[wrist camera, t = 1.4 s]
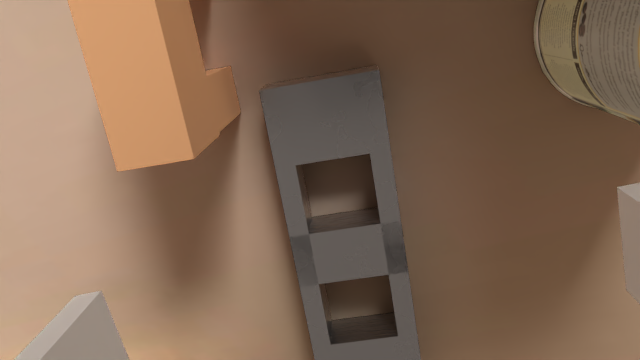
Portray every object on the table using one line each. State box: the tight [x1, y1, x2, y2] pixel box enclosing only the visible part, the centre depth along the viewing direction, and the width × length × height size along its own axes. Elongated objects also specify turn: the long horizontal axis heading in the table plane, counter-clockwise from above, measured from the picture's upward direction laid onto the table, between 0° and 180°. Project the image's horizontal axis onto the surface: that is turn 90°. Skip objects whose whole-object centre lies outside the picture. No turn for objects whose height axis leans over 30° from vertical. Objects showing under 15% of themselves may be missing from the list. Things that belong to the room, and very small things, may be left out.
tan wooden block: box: [68, 0, 241, 172], centre depth 28 cm, size 11×4×12 cm, turn 10°
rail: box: [259, 65, 421, 360], centre depth 36 cm, size 22×7×3 cm, turn 10°
